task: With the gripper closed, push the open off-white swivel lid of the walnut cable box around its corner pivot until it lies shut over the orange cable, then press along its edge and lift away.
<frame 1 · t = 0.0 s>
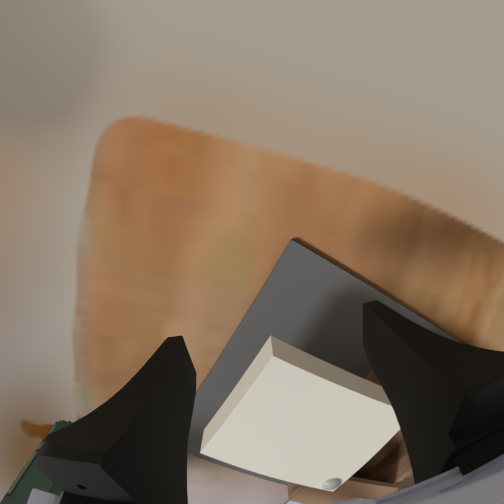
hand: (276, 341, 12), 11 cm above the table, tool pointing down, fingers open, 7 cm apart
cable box: (376, 425, 25), resting on desk mat
can: (78, 440, 27), on the table
desk mat: (329, 409, 25), on the table
lid: (307, 429, 19), point 6 cm above the table, hinge at 90.0°
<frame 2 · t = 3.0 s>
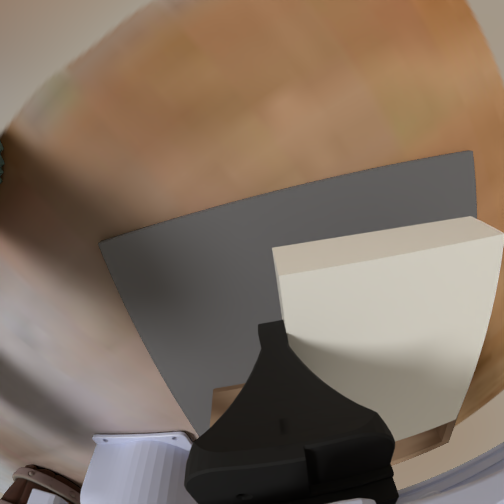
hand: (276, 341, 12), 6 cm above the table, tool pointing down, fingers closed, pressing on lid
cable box: (341, 407, 21), resting on desk mat
desk mat: (329, 353, 20), on the table
flowerpot: (56, 482, 29), on the table
lid: (391, 358, 13), point 6 cm above the table, hinge at 84.4°, touching gripper
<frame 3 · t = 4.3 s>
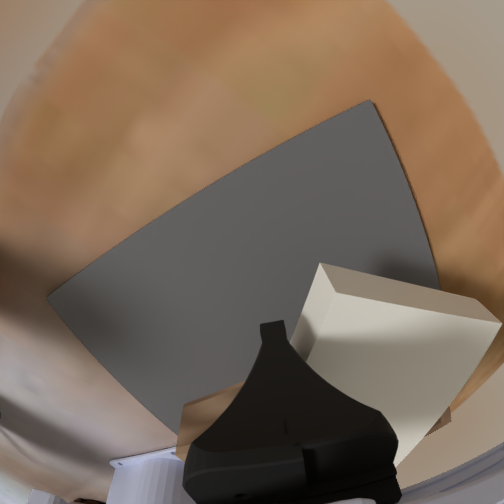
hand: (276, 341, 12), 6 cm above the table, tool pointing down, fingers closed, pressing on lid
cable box: (319, 403, 21), resting on desk mat
desk mat: (281, 353, 20), on the table
lid: (370, 396, 13), point 6 cm above the table, hinge at 45.6°, touching gripper
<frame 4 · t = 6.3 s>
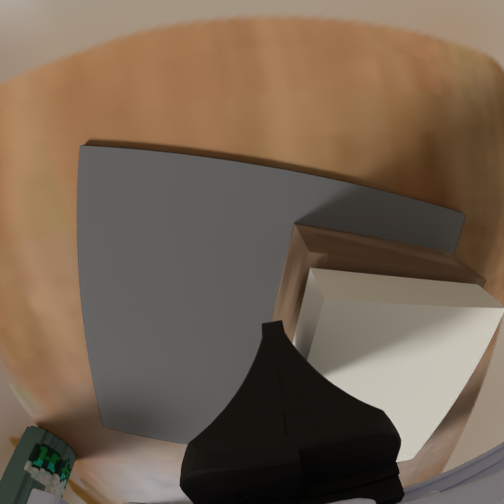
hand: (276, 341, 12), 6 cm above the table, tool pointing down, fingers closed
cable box: (339, 358, 20), resting on desk mat
can: (50, 443, 25), on the table
desk mat: (254, 350, 19), on the table
lid: (378, 392, 13), point 6 cm above the table, hinge at 2.2°, touching gripper
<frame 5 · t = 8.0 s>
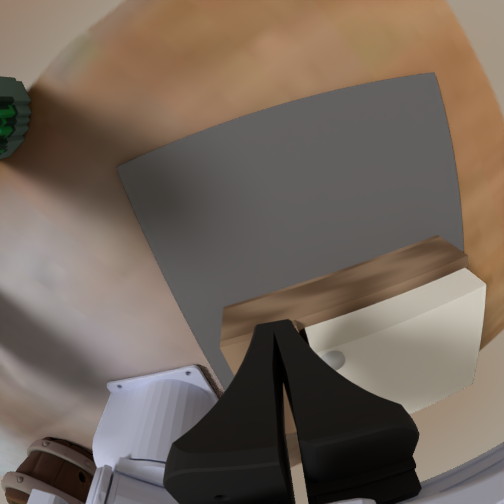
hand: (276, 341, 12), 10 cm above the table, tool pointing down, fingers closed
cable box: (349, 326, 23), resting on desk mat
can: (3, 118, 17), on the table
desk mat: (330, 263, 22), on the table
flowerpot: (72, 456, 32), on the table
lid: (404, 363, 18), point 6 cm above the table, hinge at -0.2°
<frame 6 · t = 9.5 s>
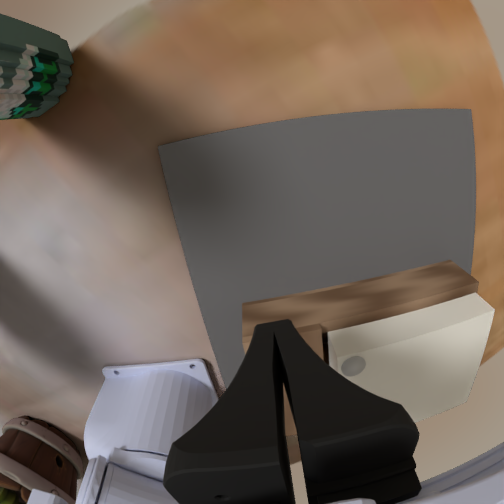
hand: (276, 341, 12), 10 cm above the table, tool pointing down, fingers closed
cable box: (357, 336, 24), resting on desk mat
can: (39, 75, 16), on the table
desk mat: (351, 273, 22), on the table
flowerpot: (48, 438, 31), on the table
lid: (411, 375, 19), point 6 cm above the table, hinge at -0.2°
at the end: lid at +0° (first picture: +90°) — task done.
